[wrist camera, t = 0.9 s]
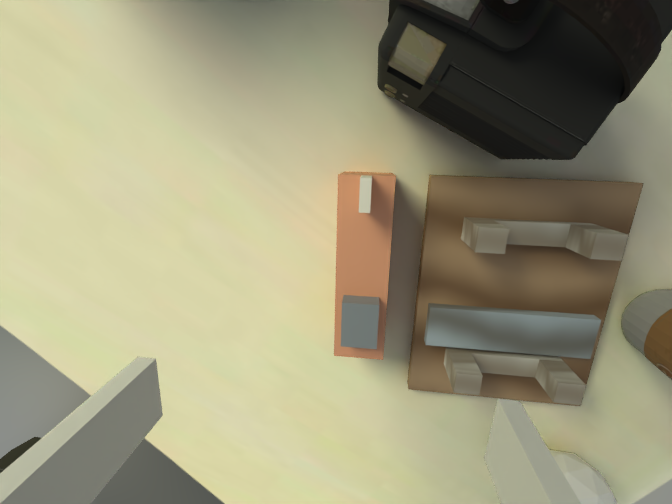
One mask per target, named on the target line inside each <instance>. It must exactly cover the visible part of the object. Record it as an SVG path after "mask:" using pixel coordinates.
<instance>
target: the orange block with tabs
mask: <svg viewBox="0 0 672 504" xmlns="http://www.w3.org/2000/svg"><path fill="white" fill-rule="evenodd" d="M395 181H396V176H395V175H394V174H393V173H370V172H343V173H341V174H339V175H338V207H337V252H336V296H335V340H334V356H345V357H357V358H369V359H382V360H383V353H384V339H385V325H386V310H387V296H388V282H389V267H390V253H391V239H392V224H393V210H394V196H395Z"/></svg>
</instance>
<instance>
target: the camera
mask: <svg viewBox="0 0 672 504" xmlns="http://www.w3.org/2000/svg"><path fill="white" fill-rule="evenodd" d="M388 22H389V23H388V27H387V29H386V31H385V33H384V35H383V37H382V39H381V41H380V43H379V48H378V87H379V89H380V90H381V91H383V92H385V94H386V95H387V96H389V97H391V98H393V97H394V98H395V99H397V100H399V101H401V102H402V103H404V104H406V105H408V106H409V107H411V108H413V109H415V110H416V111H418V112H419V113H421V114H423V115H425V116H426V117H428V118H430V119H432V120H433V121H435V122H437V123H439V124H440V125H442V126H444V127H446V128H447V129H449V130H451V131H453V132H454V133H456V134H458V135H460V136H462V137H463V138H465V139H467V140H469V141H470V142H472V143H474V144H476V145H477V146H479V147H481V148H483V149H484V150H486V151H488V152H490V153H491V154H493V155H495V156H497V157H498V158H500V159H545V160H547V159H552V160H570V159H573V158H575V157H576V155H577V154H578V153H579V151H580V150H581V149H582V147H583V146H584V145H587V143H588V142H589V141H590V139H591V138H592V137H593V135H594V134H595V133H596V131H597V130H598V128H599V127H600V126H601V124H602V123H603V122H604V120H605V119H606V118H607V116H608V115H609V114H610V112H611V111H612V110H613V108H614V107H615V106H616V104H617V103H620V102H622V101H624V100H625V99H626V98H627V97H628V96H629V95H630V93H631V92H632V91H633V89H634V88H635V87H636V85H637V84H638V83H639V81H640V80H641V79H642V77H643V76H644V75H645V73H646V72H647V71H648V69H649V68H650V67H651V65H652V64H653V63H654V61H655V60H656V59H657V57H658V55H659V53H660V51H661V43H662V42H663V41H664V39H665V38H666V37H667V35H668V34H669V33H670V31H671V30H672V0H390V2H389V18H388Z"/></svg>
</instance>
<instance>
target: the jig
mask: <svg viewBox="0 0 672 504" xmlns="http://www.w3.org/2000/svg"><path fill="white" fill-rule="evenodd" d="M642 187H643V183H635V182H611V181H583V180H555V179H528V178H500V177H473V176H445V175H429V184H428V194H427V203H426V212H425V222H424V231H423V241H422V250H421V259H420V269H419V278H418V287H417V297H416V306H415V316H414V325H413V334H412V344H411V353H410V363H409V372H408V381H407V382H408V389H412V390H422V391H432V392H442V393H452V394H462V395H472V396H483V397H493V398H503V399H513V400H523V401H533V402H544V403H554V404H564V405H574V406H580V405H581V402H582V399H583V395H584V392H585V388H586V384H587V380H588V377H589V373H590V370H591V366H592V363H593V359H594V356H595V352H596V349H597V345H598V342H599V338H600V334H601V331H602V327H603V324H604V320H605V317H606V313H607V310H608V306H609V303H610V299H611V296H612V292H613V289H614V285H615V282H616V278H617V275H618V271H619V268H620V264H621V261H622V258H623V254H624V251H625V247H626V244H627V240H628V237H629V232H630V229H631V225H632V222H633V218H634V215H635V211H636V208H637V204H638V201H639V197H640V194H641V190H642Z"/></svg>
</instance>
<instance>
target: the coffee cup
mask: <svg viewBox="0 0 672 504" xmlns="http://www.w3.org/2000/svg"><path fill="white" fill-rule="evenodd" d="M621 325H622V330H623V333H624V335H625V337H626V339H627V340H628V341H629V342H630V343H631V344H632V345H633V346H634V347H635V348H637V349H638V350H639V351H640V352H641V353H643V354H644V355H645V357H646V358H647V359H648V360H649V361H651V362H652V363H653V364H654V365H655V366H656V367H658V368H659V369H660V370H661V371H662V372H663V373H665V374H666V375H667V376H668V377H669V378H670V379H672V289H662V290H653V291H649V292H646V293H644V294H642V295H640V296H638V297H636V298H635V299H634V300H632V301H631V302H630V303H629V305H628V306H627V307H626V308H625V310H624V312H623V314H622V319H621Z"/></svg>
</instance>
